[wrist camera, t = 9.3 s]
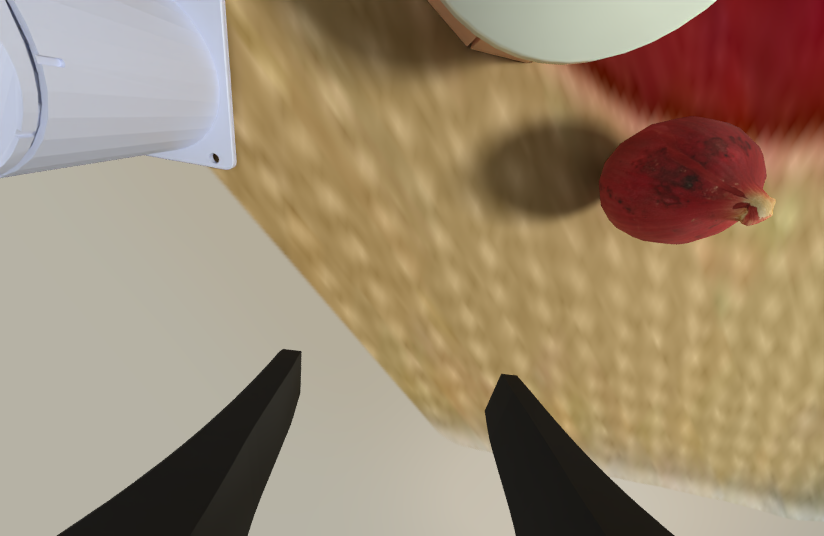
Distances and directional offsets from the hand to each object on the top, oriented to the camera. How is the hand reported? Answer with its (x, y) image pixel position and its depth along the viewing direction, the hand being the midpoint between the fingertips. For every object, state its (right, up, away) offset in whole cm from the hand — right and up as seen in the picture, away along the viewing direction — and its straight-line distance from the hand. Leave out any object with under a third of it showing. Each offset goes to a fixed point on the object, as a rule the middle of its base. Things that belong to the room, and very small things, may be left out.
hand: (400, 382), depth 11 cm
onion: (+13, +10, +7) cm, 18 cm away
